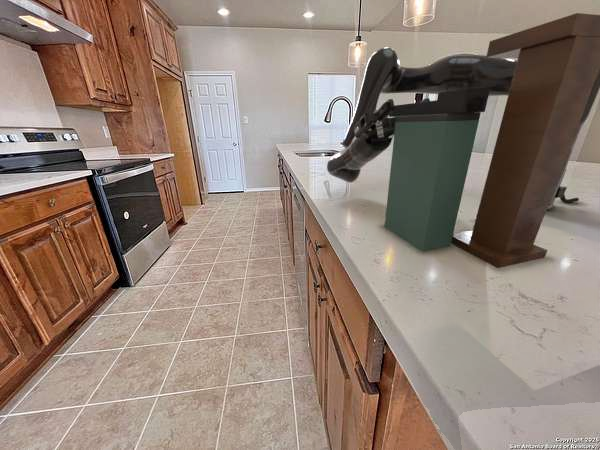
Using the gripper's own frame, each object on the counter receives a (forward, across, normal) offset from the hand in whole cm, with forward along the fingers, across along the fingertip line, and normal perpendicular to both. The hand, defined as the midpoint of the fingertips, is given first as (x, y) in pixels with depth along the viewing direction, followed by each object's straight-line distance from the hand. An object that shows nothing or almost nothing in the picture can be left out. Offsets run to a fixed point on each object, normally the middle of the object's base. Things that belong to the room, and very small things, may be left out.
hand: (410, 103), depth 45 cm
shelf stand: (0, +9, +28) cm, 30 cm away
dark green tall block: (-7, 0, +24) cm, 25 cm away
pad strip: (+3, 0, +4) cm, 5 cm away
